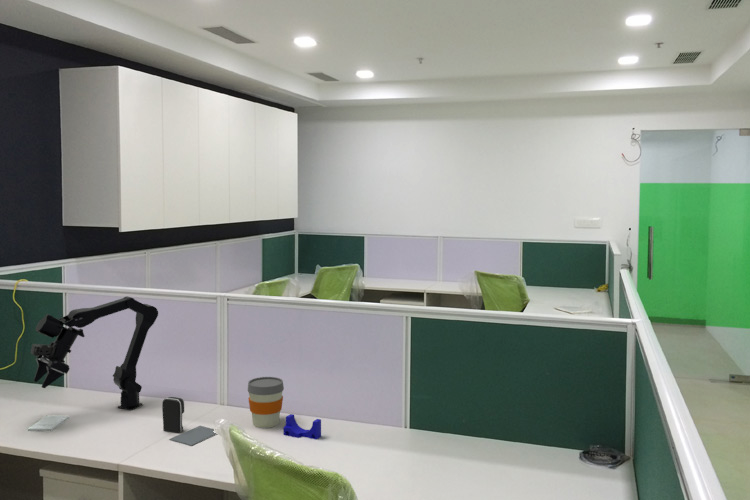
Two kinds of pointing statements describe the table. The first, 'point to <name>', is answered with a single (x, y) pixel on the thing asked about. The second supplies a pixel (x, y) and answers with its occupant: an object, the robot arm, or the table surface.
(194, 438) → the mat
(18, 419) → the table surface
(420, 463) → the table surface
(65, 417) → the external hard drive
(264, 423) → the reusable coffee cup
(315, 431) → the blue cradle bracket
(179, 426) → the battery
